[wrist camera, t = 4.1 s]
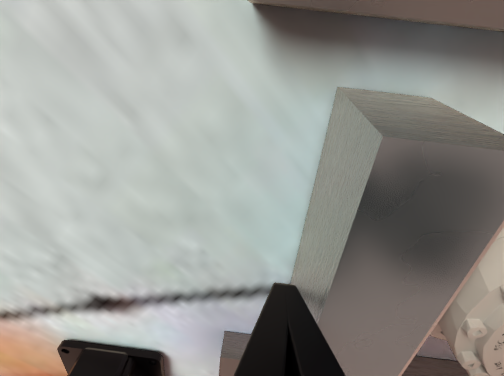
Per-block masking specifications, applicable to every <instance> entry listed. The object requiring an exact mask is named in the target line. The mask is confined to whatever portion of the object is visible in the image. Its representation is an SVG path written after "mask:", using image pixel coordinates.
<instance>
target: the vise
mask: <svg viewBox="0 0 504 376" xmlns="http://www.w3.org/2000/svg"><path fill="white" fill-rule="evenodd" d="M248 1H249V2H251V3H255V4H263V5H272V6H281V7H290V8H299V9H308V10H316V11H325V12H334V13H343V14H352V15H361V16H369V17H378V18H387V19H396V20H405V21H414V22H423V23H431V24H440V25H449V26H458V27H467V28H476V29H484V30H493V31H502V32H504V0H248ZM250 336H251V334H243V333H236V332H228V331H225V333H224V339H223V345H222V351H221V357H220V369H219V376H234V373H235V371H236V368H237V366H238V364H239V361H240V359H241V357H242V354H243V352H244V350H245V348H246V345H247V343H248V341H249V338H250ZM402 376H469V374H468V373H467V371H466V369H464V368H463V367H462V366H461V364H460V363H459V362H457V361H449V360H441V359H434V358H426V357H418V356H415V357H414V358H413V360H412V361H411V362H410V364H409V365H408V367H407V368H406V370H405V371H404V373H403V374H402Z"/></svg>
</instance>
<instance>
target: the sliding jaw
mask: <svg viewBox="0 0 504 376" xmlns="http://www.w3.org/2000/svg"><path fill="white" fill-rule="evenodd" d="M503 228H504V134H502V133H500V132H498V131H496V130H494V129H492V128H490V127H488V126H486V125H484V124H482V123H480V122H478V121H476V120H474V119H472V118H470V117H468V116H466V115H464V114H462V113H460V112H458V111H456V110H454V109H452V108H450V107H448V106H446V105H444V104H442V103H440V102H438V101H436V100H434V99H432V98H429V97H421V96H412V95H403V94H395V93H386V92H378V91H369V90H361V89H352V88H344V87H337V91H336V95H335V99H334V104H333V108H332V112H331V116H330V120H329V124H328V129H327V133H326V137H325V141H324V145H323V149H322V154H321V158H320V162H319V166H318V170H317V174H316V178H315V183H314V187H313V191H312V195H311V199H310V203H309V208H308V212H307V216H306V220H305V224H304V228H303V233H302V237H301V241H300V245H299V249H298V253H297V258H296V262H295V266H294V270H293V274H292V278H291V282H290V284H292V285H295V286H296V287H297V288H298V290H299V292H300V294H301V296H302V297H303V299H304V301H305V303H306V305H307V307H308V308H309V310H310V312H311V314H312V316H313V317H314V319H315V321H316V323H317V325H318V326H319V328H320V330H321V332H322V334H323V335H324V337H325V339H326V341H327V343H328V344H329V346H330V348H331V350H332V352H333V354H334V355H335V357H336V359H337V361H338V363H339V364H340V366H341V368H342V370H343V372H344V373H345V375H346V376H402V374H403V373H404V371H405V370H406V368H407V367H408V365H409V364H410V362H411V361H412V360H413V358H414V357H415V355H416V354H417V352H418V351H419V349H420V348H421V347H422V345H423V344H424V342H425V341H426V339H427V338H428V336H429V335H430V334H431V332H432V331H433V329H434V328H435V326H436V325H437V323H438V322H439V320H440V319H441V318H442V316H443V315H444V313H445V312H446V310H447V309H448V307H449V306H450V305H451V303H452V302H453V300H454V299H455V297H456V296H457V294H458V293H459V292H460V290H461V289H462V287H463V286H464V284H465V283H466V281H467V280H468V278H469V277H470V276H471V274H472V273H473V271H474V270H475V268H476V267H477V265H478V264H479V263H480V261H481V260H482V258H483V257H484V255H485V254H486V252H487V251H488V250H489V248H490V247H491V245H492V244H493V242H494V241H495V239H496V238H497V236H498V235H499V234H500V232H501V231H502V229H503Z"/></svg>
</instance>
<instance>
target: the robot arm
mask: <svg viewBox="0 0 504 376" xmlns="http://www.w3.org/2000/svg"><path fill="white" fill-rule="evenodd" d="M57 350H58V352H59V355H60V357H61V359H62V362H63V364H64V366H65V369H66V371H67V373H68V375H67V376H165V373H164V363H163V357H162V355H161V354H159V353H157V352H152V351H144V350H137V349H129V348H122V347H114V346H107V345H99V344H92V343H84V342H77V341H69V340H64V341H62V342H61V344H60V345H59V347H58V348H57ZM234 376H346V375H345V373H344V372H343V370H342V368H341V366H340V364H339V363H338V361H337V359H336V357H335V355H334V354H333V352H332V350H331V348H330V346H329V344H328V343H327V341H326V339H325V337H324V335H323V334H322V332H321V330H320V328H319V326H318V325H317V323H316V321H315V319H314V317H313V316H312V314H311V312H310V310H309V308H308V307H307V305H306V303H305V301H304V299H303V297H302V296H301V294H300V292H299V290H298V288H297V287H296V286H295V285H292V284H284V283H274V284H273V286H272V288H271V290H270V293H269V295H268V297H267V300H266V302H265V304H264V306H263V309H262V311H261V313H260V316H259V318H258V320H257V322H256V325H255V327H254V329H253V332H252V334H251V336H250V338H249V341H248V343H247V345H246V348H245V350H244V352H243V354H242V357H241V359H240V361H239V364H238V366H237V368H236V371H235V373H234Z"/></svg>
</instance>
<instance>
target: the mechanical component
mask: <svg viewBox="0 0 504 376" xmlns="http://www.w3.org/2000/svg"><path fill="white" fill-rule="evenodd" d="M430 335H431V336H433V337H435V338H439V339H443V340H446V341H447V342H448V344H449V346H450V348H451V350H452V351H453V353H454V355H455V357H456V359H457V361H458V362H459V363H460V364H461V366H462V367H463V368H464V369H466V371H467V373H468V374H469V376H504V228H503V229H502V231H501V232H500V234H499V235H498V236H497V238H496V239H495V241H494V242H493V244H492V245H491V247H490V248H489V250H488V251H487V252H486V254H485V255H484V257H483V258H482V260H481V261H480V263H479V264H478V265H477V267H476V268H475V270H474V271H473V273H472V274H471V276H470V277H469V278H468V280H467V281H466V283H465V284H464V286H463V287H462V289H461V290H460V292H459V293H458V294H457V296H456V297H455V299H454V300H453V302H452V303H451V305H450V306H449V307H448V309H447V310H446V312H445V313H444V315H443V316H442V318H441V319H440V320H439V322H438V323H437V325H436V326H435V328H434V329H433V331H432V332H431V334H430Z"/></svg>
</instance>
